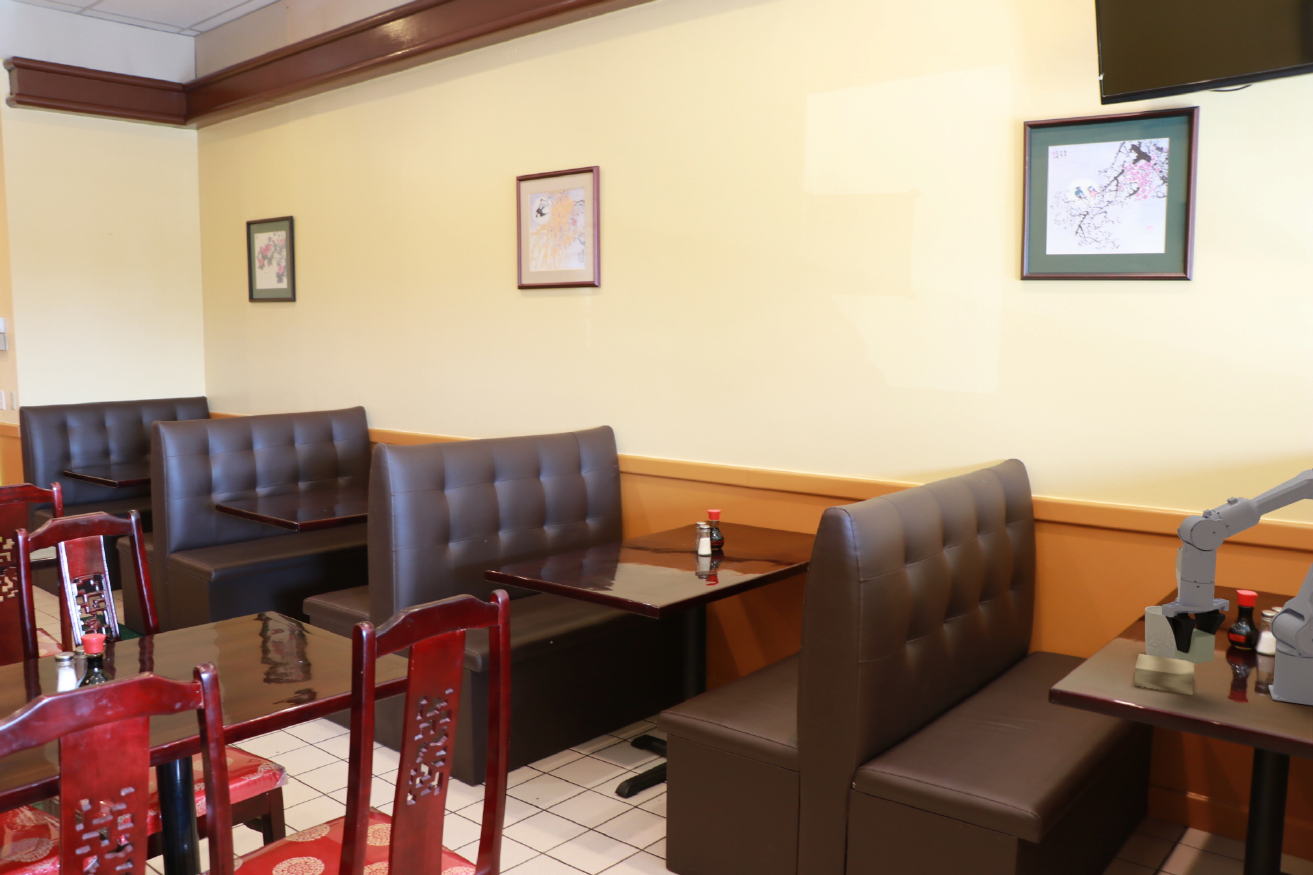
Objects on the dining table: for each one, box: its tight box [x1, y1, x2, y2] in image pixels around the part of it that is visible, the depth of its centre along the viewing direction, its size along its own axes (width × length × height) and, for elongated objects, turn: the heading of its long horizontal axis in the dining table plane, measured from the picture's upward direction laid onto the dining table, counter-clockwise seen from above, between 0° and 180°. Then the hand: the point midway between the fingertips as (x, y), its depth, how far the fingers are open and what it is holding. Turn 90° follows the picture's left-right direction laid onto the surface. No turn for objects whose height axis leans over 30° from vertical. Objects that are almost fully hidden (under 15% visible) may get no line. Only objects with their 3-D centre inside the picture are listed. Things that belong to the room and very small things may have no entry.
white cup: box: [1144, 605, 1182, 660], centre depth 210 cm, size 8×8×10 cm
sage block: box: [1175, 628, 1216, 665], centre depth 187 cm, size 5×5×5 cm
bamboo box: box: [1133, 653, 1195, 696], centre depth 194 cm, size 10×10×4 cm
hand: (1193, 650), depth 188 cm, fingers closed on sage block, 5 cm apart
